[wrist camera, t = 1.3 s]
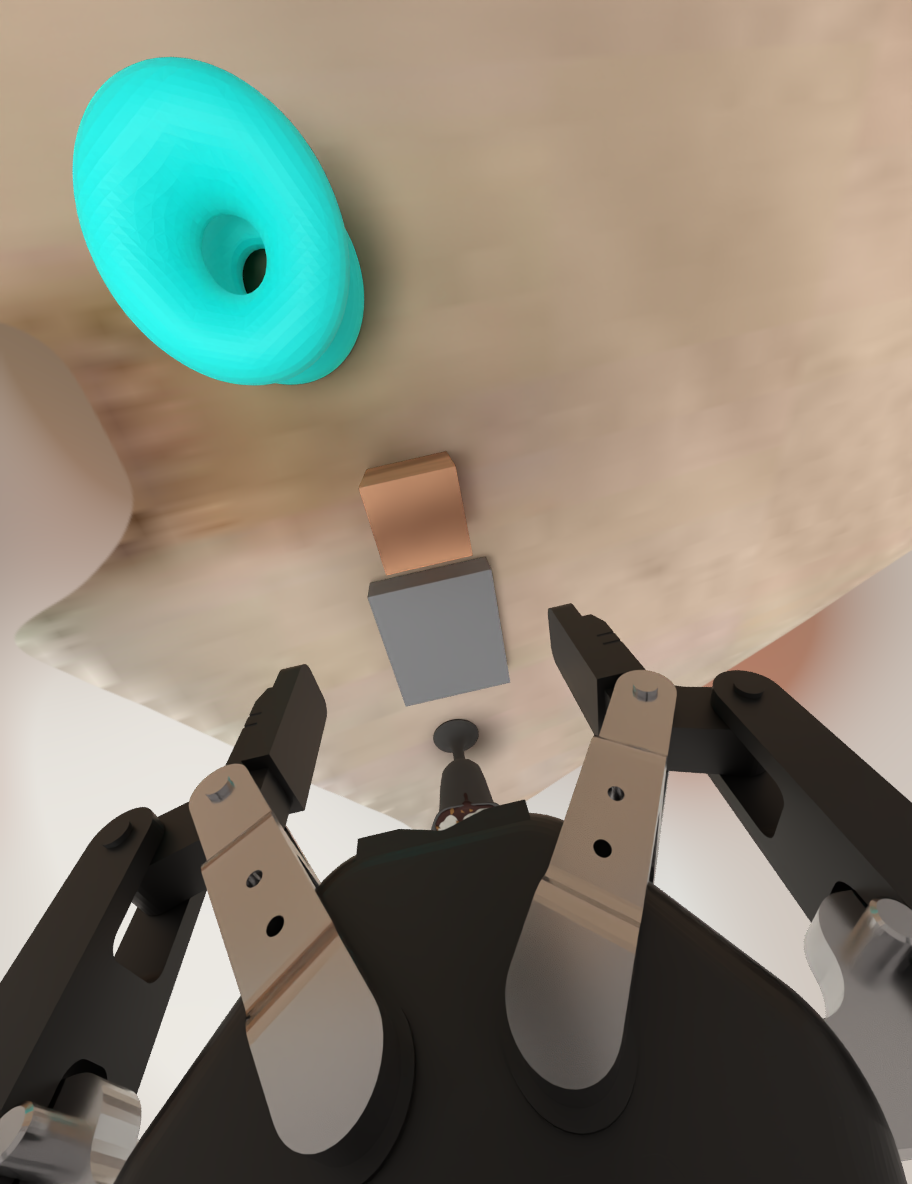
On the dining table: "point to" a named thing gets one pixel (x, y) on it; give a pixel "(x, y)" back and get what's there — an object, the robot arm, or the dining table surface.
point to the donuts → (215, 224)
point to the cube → (416, 512)
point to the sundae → (460, 776)
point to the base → (441, 630)
